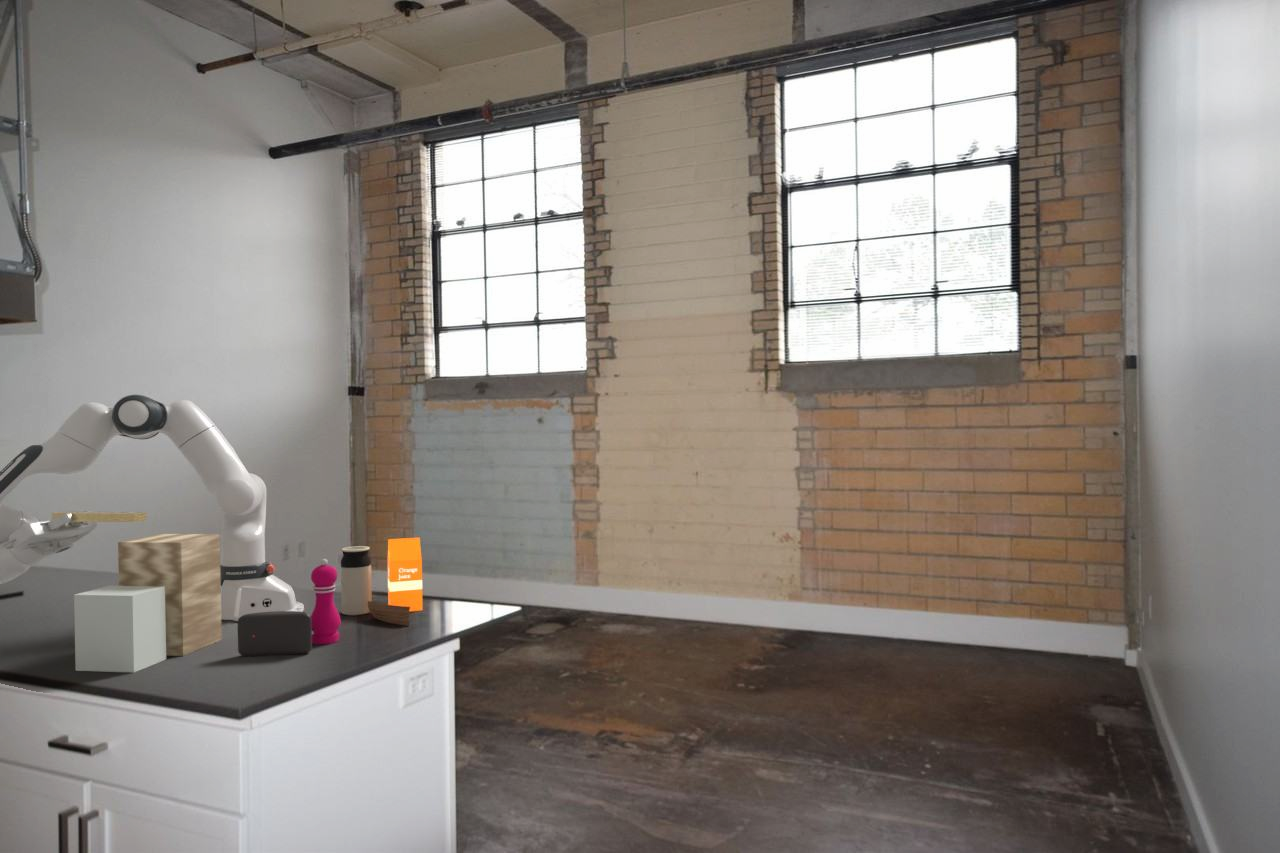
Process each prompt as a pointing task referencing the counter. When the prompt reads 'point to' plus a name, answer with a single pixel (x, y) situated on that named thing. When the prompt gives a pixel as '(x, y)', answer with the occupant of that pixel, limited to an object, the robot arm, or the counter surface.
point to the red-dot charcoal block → (274, 633)
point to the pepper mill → (324, 605)
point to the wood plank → (390, 613)
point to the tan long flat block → (103, 516)
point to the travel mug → (355, 580)
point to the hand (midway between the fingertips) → (79, 514)
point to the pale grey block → (120, 628)
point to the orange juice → (405, 573)
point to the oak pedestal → (179, 584)
